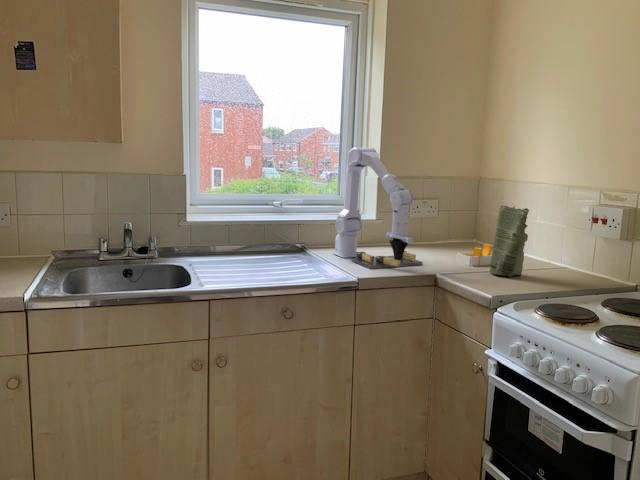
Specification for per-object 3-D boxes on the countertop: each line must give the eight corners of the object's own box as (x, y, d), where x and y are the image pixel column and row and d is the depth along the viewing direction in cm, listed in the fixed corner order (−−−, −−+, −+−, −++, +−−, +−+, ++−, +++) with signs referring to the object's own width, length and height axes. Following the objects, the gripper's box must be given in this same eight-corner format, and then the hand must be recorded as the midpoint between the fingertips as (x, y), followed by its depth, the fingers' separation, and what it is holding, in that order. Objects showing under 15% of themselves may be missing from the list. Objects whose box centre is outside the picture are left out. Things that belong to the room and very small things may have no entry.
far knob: (395, 256, 225) (395, 250, 225) (403, 255, 227) (403, 250, 226) (409, 261, 216) (410, 255, 216) (417, 260, 218) (417, 254, 218)
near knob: (374, 262, 212) (374, 256, 211) (380, 261, 214) (380, 255, 214) (395, 266, 205) (395, 260, 205) (401, 265, 208) (401, 259, 207)
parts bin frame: (455, 261, 225) (456, 253, 225) (488, 259, 233) (488, 250, 232) (470, 266, 218) (471, 257, 217) (503, 263, 225) (504, 254, 224)
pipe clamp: (480, 259, 231) (481, 243, 230) (490, 260, 229) (492, 245, 227) (468, 263, 222) (469, 247, 221) (478, 265, 219) (480, 248, 218)
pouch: (491, 270, 211) (496, 203, 207) (525, 274, 207) (531, 205, 203) (487, 276, 201) (493, 205, 197) (523, 280, 197) (530, 208, 193)
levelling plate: (351, 261, 220) (351, 255, 219) (401, 258, 230) (401, 252, 229) (370, 268, 207) (370, 263, 207) (422, 264, 217) (422, 259, 217)
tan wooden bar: (354, 257, 220) (354, 252, 219) (362, 257, 221) (362, 251, 221) (367, 262, 211) (367, 256, 211) (376, 261, 213) (376, 256, 212)
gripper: (380, 220, 212) (378, 256, 214) (402, 226, 199) (399, 264, 201) (396, 220, 215) (394, 255, 217) (418, 225, 202) (416, 263, 205)
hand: (397, 259), depth 210 cm, fingers closed
